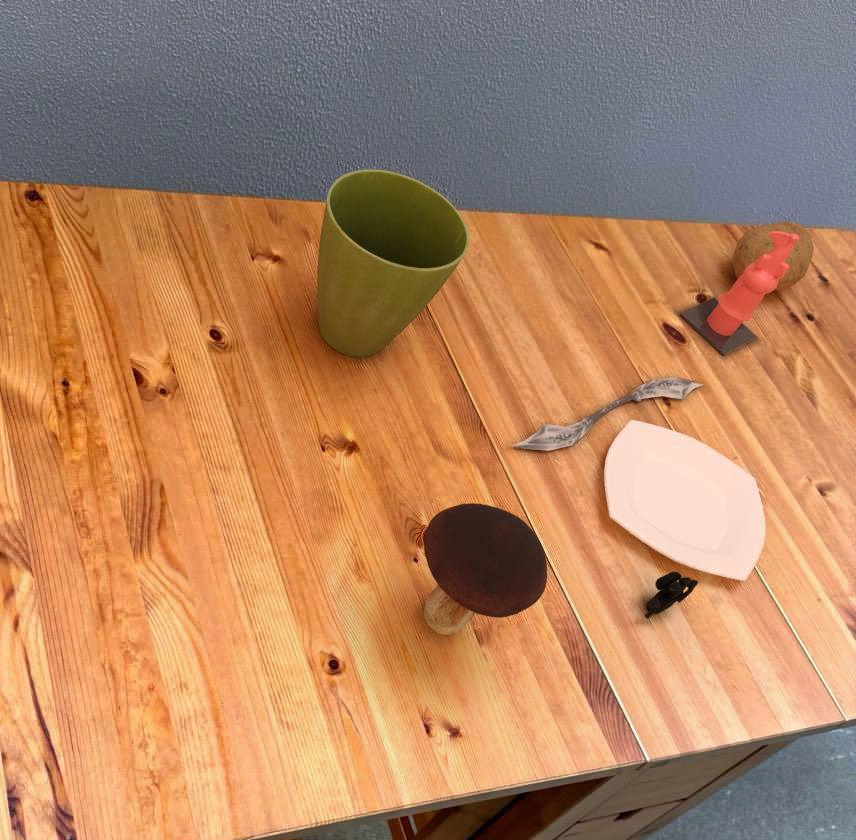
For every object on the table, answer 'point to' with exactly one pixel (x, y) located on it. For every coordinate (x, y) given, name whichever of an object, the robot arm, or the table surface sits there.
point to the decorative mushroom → (481, 566)
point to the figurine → (752, 286)
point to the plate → (684, 500)
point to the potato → (762, 243)
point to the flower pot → (382, 257)
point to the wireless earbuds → (669, 592)
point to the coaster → (719, 342)
